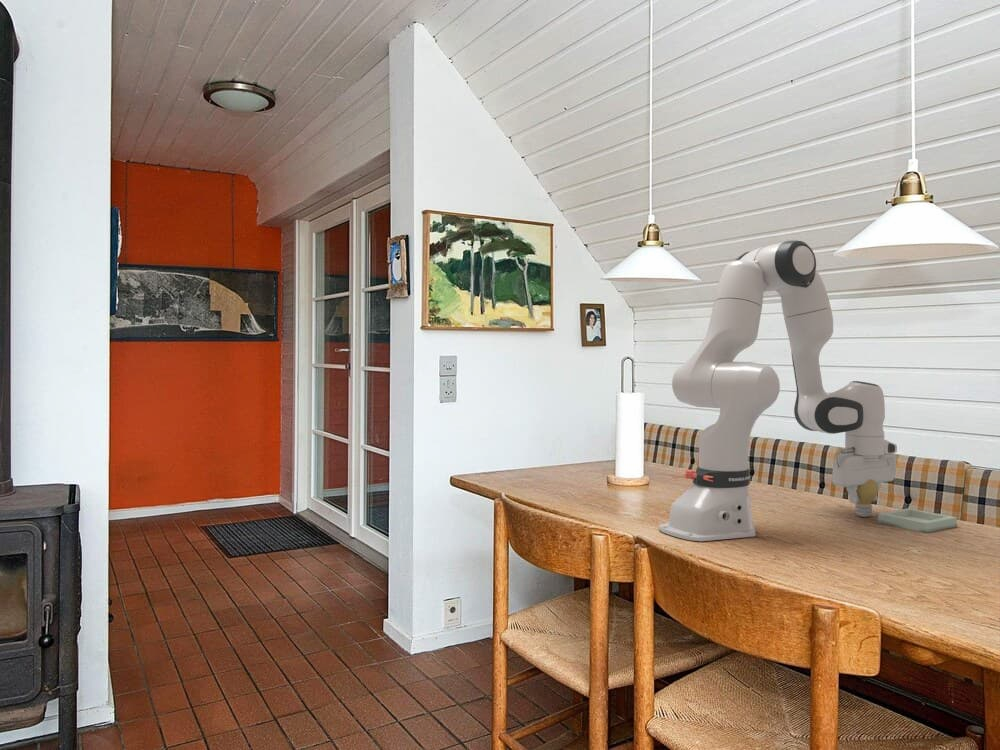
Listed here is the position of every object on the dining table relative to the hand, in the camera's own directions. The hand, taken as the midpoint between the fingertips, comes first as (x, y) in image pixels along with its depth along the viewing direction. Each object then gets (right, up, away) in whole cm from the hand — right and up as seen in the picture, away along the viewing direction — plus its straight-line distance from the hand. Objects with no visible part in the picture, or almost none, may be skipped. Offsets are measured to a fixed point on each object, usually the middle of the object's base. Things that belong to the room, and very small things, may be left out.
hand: (863, 501), depth 193 cm
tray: (+8, -4, -9) cm, 13 cm away
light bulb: (0, -4, 0) cm, 4 cm away
